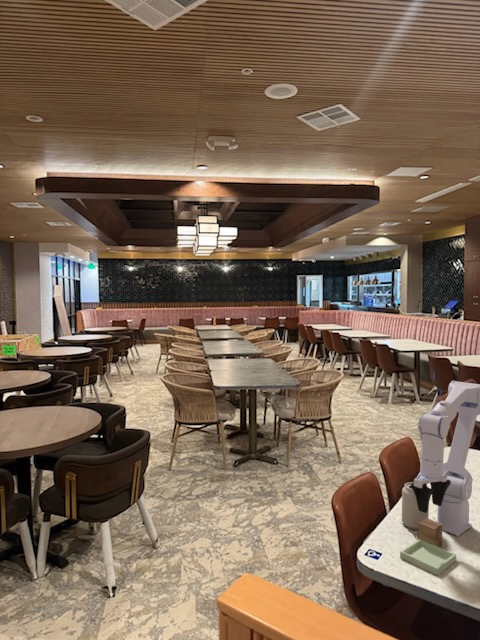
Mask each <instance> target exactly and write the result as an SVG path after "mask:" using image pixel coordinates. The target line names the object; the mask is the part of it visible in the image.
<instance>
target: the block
mask: <svg viewBox="0 0 480 640" xmlns="http://www.w3.org/2000/svg"><path fill="white" fill-rule="evenodd" d="M436 521H437V520H433V519H431V518H429V517H428V518H426V519H424V520H423V521H421V522H419V530H418V534H417V535H418V536H417V537H418V539H417V540H419V539H421V540H423V541H426V542H428V543H430V544H433V545H435V546H437V547H440V548H441V547H442V546H443V530H442V526H443V524H441V523H438V522H436Z"/></svg>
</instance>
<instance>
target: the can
mask: <svg viewBox="0 0 480 640" xmlns="http://www.w3.org/2000/svg"><path fill="white" fill-rule="evenodd" d="M413 482H414V481H412V482H411V481H410V482H406V483H404V486H403V487H402V490H401V522H402V523H403V524H404V525H405V526H406V527H407V528H408V529H411V530H417V531H419V522H421V521H423V520H424V519H426V518H428V519H429V510H430V509H429V508H430V505H429V506H428V511H427V513H424V512H421V511H419V509H418V505H417V500H416V497H415V494H414V492H413V490H412V488H411V483H413Z"/></svg>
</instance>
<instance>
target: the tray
mask: <svg viewBox="0 0 480 640" xmlns="http://www.w3.org/2000/svg"><path fill="white" fill-rule="evenodd" d="M399 553H400V554H399V558H400V559H402V560H404V561H407V562H408V563H411V564H413V565H415V566H417V567H419V568H422V569H424V570H426V571H428V572H430V573H432V574H434V575H435V576H438V575H440V574H441V573H442V572H444V571H445V570H447V568H449V567H450V566H451V565H452V564H454V563H455V562H456V561H457V553H456V554H455V553H454V552H451V551H449V550H447V549H444V548H442V547H441V546H440V547H437V546H435V545H433V544H430V543H428V542H426V541H423V540H421V539H419V540H418V539H417V540H415V541H414V542H413V543H411V544H410V545H408V546H407V547H405V548H404V549H402V550H400V551H399Z"/></svg>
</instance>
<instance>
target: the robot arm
mask: <svg viewBox="0 0 480 640" xmlns="http://www.w3.org/2000/svg"><path fill="white" fill-rule="evenodd" d="M457 413H458V414H457ZM457 415H458V417H457V420H456V425H455V429H454V434H453V436H452V437H453V438H452V442H451V444H450V449H449V453H448V457H447V461H446V462H444V453H445V438H447V436H448V434H449V430H450V427H451V423H452V422H453V420H454V419H455V418H456V416H457ZM478 416H480V384H478V383H471V382H465V381H464V382H463V381H457V380H451V382H450V383H449V384H448V389H447V397H446V398H445V400H441V401H439V402H437V404H435V406H434V407H433V408H432V409H431V410H430V411H429V413H425V414H421V415H420V418H419V419H418V424H417V428H418V429H417V430H418V433H419V440H420V441H421V444H420V446H421V447H420V465H419V467H420V468H419V469H420V470H419V472H418V475H417V476H416V477H415V478H414V479H413V481H412V482H413V483H411V488H412V490H413V492H414V494H415V497H416V500H417V505H418V509H419V511H421V512H424V513H427V511H428V506H429V507H430V500H432V504H433V505H436V506H437V520H435V521H436V522H438V523H441V524H443V526H442V531H444V532H446V533H449V534H452V535H454V536H456V537H457V536H458V537H459V536H460V535H462V534H463V533H464V532H467V530H468V529H470V528H472V526H473V525H472V523H470V522H469V521H470V520H469V519H470V503H469V500H470V498H471V497H472V491H473V476H472V475H471V473H470V472H469V471H468V469H467V468H466V463H467V458H468V453H469V451H470V446H471V441H472V437H473V433H474V428H475V425H476V421H477V418H478ZM428 484H430V487H429V486H428Z"/></svg>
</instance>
